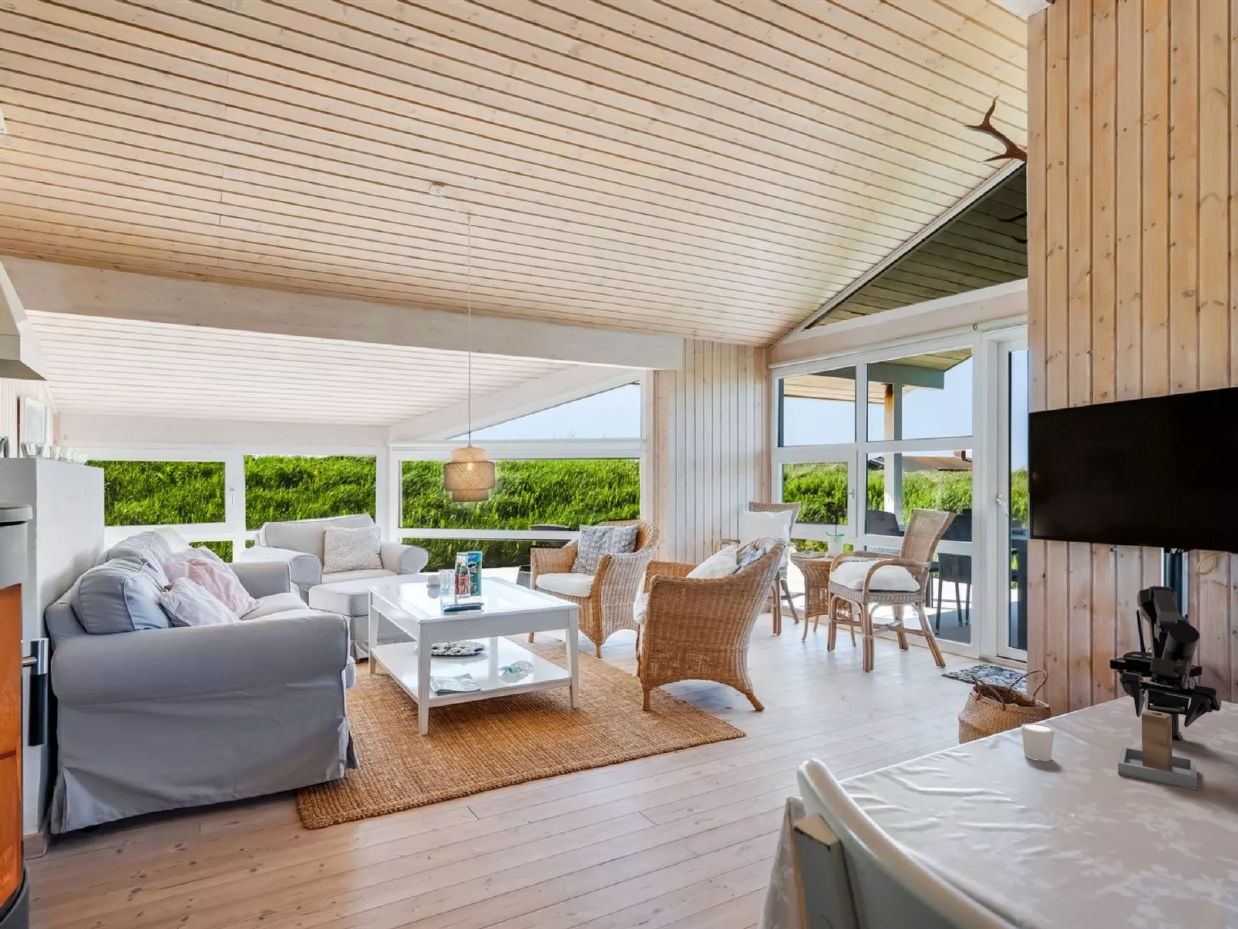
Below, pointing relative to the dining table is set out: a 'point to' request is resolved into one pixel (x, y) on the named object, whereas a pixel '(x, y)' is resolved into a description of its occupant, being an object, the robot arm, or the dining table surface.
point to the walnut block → (1157, 740)
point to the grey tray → (1179, 775)
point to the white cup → (1037, 741)
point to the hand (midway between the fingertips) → (1161, 721)
